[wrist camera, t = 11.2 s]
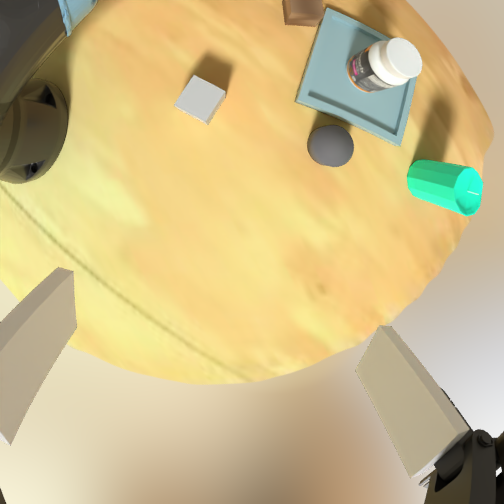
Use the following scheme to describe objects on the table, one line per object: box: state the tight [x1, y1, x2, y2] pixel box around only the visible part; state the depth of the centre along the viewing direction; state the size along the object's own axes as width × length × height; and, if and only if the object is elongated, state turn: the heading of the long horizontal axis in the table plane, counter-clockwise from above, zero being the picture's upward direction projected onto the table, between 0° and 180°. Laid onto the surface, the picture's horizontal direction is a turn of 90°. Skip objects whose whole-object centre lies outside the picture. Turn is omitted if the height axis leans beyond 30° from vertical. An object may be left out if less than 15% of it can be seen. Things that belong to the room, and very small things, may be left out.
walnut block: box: [282, 0, 324, 27], centre depth 25 cm, size 4×4×4 cm
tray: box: [295, 8, 417, 146], centre depth 29 cm, size 15×15×2 cm
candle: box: [407, 159, 483, 216], centre depth 30 cm, size 6×6×12 cm
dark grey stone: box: [307, 125, 354, 167], centre depth 32 cm, size 5×5×3 cm
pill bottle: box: [346, 38, 422, 93], centre depth 25 cm, size 6×6×10 cm
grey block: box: [174, 75, 226, 125], centre depth 29 cm, size 4×4×4 cm
